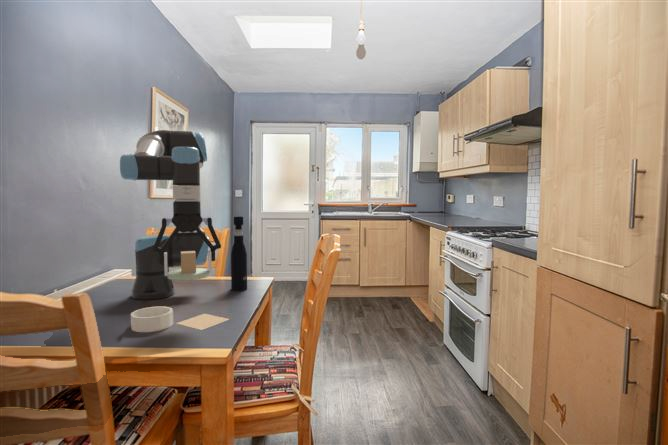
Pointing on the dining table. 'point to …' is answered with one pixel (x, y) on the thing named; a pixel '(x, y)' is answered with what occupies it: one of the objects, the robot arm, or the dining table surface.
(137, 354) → the dining table surface
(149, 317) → the bowl
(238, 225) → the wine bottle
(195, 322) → the mat
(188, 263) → the lid
